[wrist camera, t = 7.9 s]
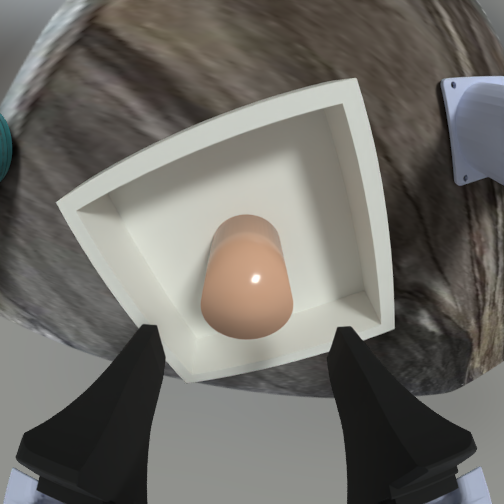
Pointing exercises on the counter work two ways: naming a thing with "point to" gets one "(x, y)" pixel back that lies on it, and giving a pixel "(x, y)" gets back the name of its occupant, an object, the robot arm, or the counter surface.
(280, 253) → the peach cylinder
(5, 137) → the beverage bottle
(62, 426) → the robot arm
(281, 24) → the counter surface
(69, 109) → the counter surface
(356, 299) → the bin
